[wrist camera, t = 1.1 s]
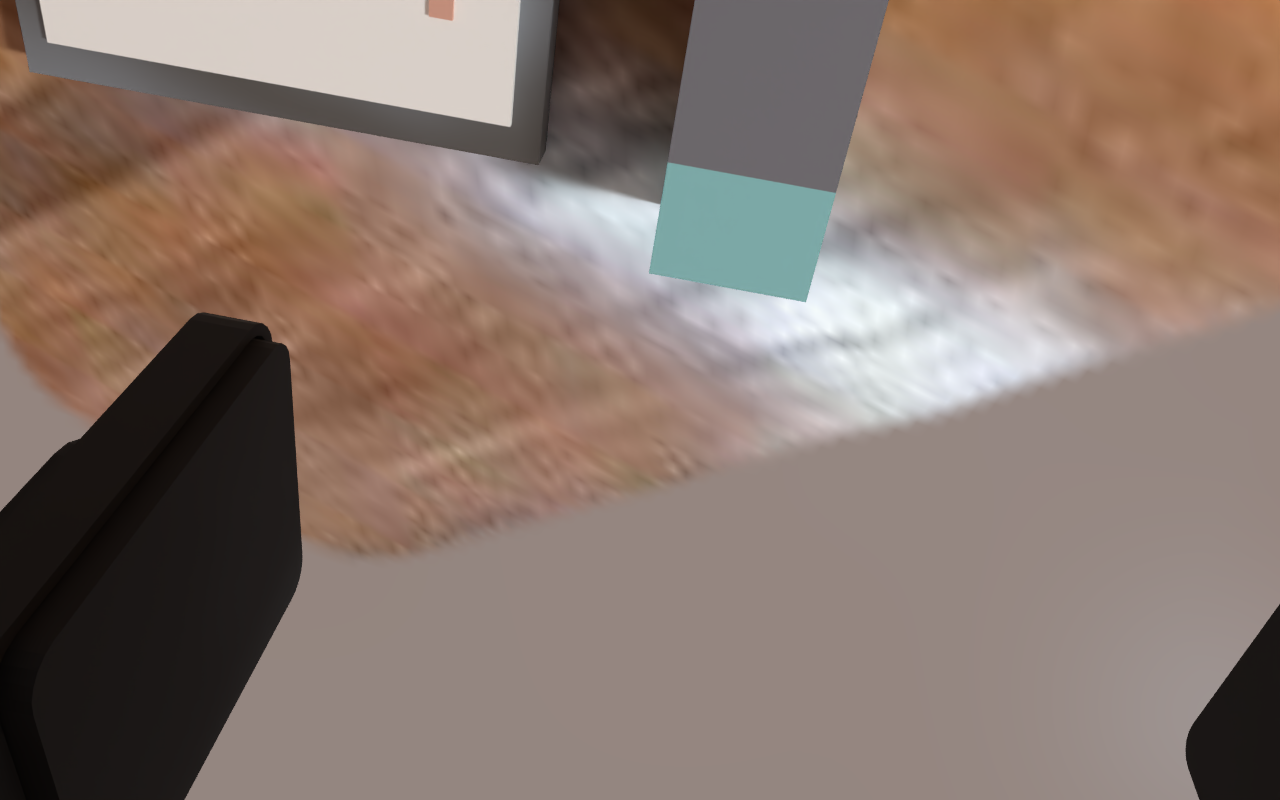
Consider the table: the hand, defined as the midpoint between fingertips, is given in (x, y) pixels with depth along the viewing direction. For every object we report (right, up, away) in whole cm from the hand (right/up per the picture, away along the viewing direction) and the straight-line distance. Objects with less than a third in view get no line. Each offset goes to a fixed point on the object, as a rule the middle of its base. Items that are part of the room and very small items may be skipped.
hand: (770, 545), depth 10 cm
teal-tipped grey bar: (+2, +12, +16) cm, 20 cm away
